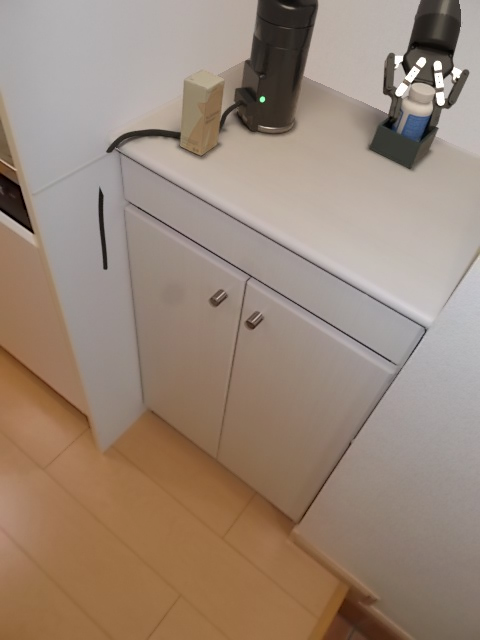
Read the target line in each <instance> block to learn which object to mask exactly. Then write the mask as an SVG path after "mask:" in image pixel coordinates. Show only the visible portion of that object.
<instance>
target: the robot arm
mask: <svg viewBox="0 0 480 640" xmlns="http://www.w3.org/2000/svg"><path fill="white" fill-rule="evenodd" d="M419 3H420V4H419ZM419 3H418V7H417V10H416V13H415V16H414V18H413V19H414V21H413V25H412V29H411V33H410V34H411V35H410V37H409V42H408V45H407V49H406V52H405V53H404V54H403V55H396V54H395V53H394V52H389V53H388V55H387V57H386V58H385V60H384V64H383V65H384V67H383V81H382V94H383V95H384V96H388V97H389V98H390V99H391V102H390V106H389V109H388V113H387V118H388V119H391V121H390V123H393V124H395V122H396V121H397V118H398V114H399V111H400V107H401V103H402V99H403V98H404V97H403V94H404V93H405V92H406V91H407V89H408V88H409V86H411V85H412V84H414V83H424V84H427V85H430V86H431V87H433V88H434V89H435V94H434V97H433V99H432V101H431V103H432V105H433V111H432V114H431V116H430V118H429V121H428V123H427V126H426V129H425V131H428V132H430V131H431V130H432V129H434V128H435V127H438V124H439V122H440V117H441V114H442V110H444V109H445V110H449V109H451V108H452V107H453V106H454V105H455V104H456V103H457V101H458V99H459V97H460V94H461V93H462V90H463V88H464V86H465V84H466V82H467V80H468V78H469V75H470V70H469V69H467V68H465V69H463V70H462V69H459V68H457V67H455V64H454V55H455V51H456V48H457V45H458V41H459V37H460V33H461V30H460V27H461V28H462V26H461V9H460V4H459V0H419ZM318 12H319V0H257V4H256V14H255V20H254V27H253V34H252V40H251V50H250V55H249V59H246V60H244V63H243V72H242V78H241V86H240V87H236V88H234V96H233V102H234V103H233V104H231V105H230V106H229V107H227V108H226V109H225V110H224V111H223V113H222V114H221V117H220V126H219V130H221V129H222V128H223V127H224V126H225V123H226V121H227V117H228V116H229V115H230V114H231V113H232V112H233V111H234V110H236V109H238V110H237V114H238V116H239V117H240V119H242V121H243V122H244V124H245V125H246V126H247V128H249V130H250V131H251V132H256V131H257V132H262V133H265V134H266V133H267V134H281V133H286V132H288V131H290V130H291V129H292V128H293V126H294V124H295V117H296V112H297V106H298V101H299V97H300V93H301V90H302V89H301V88H302V85H303V78H304V75H305V71H306V65H307V61H308V57H309V52H310V47H311V43H312V39H313V34H314V30H315V26H316V21H317V16H318ZM399 65H401V67H402V69H403V72H404V74H405V78H404V79H403V80H402V82H401V83H400V85H399V86H398V87H396V86H395V85H394V79H395V71H396V70H397V69H398V68H399ZM449 75H450V76H451V80H450V82H451V84H453V85H452V87H451V89H450V91H449V93H448V95H447V97H446V98H445V95H444V91H445V84H444V80H445V79H446V78H447V77H448V76H449ZM149 135H160V136H167V137H172V138H180V139H181V131H172V130H169V129H168V130H167V129H160V128H148V129H140V130H139V129H138V130H132V131H128V132H125V133H123V134H121V135H119V136H118V137H117V138H116V139H115V140H113V142H112V143H111V144H110V145H109V146H108V148H107V149H106V150H105V153H107V154H111V153H113V151H114V150H115V149H116V148H117V147H118V146H119V145H120V144H121V143H122V142H124V141H125V140H127V139H130V138H135V137H141V136H149ZM104 198H105V195H104V193H103V191H102V189H101V186H99V187H98V201H97V203H98V204H97V209H98V212H97V213H98V214H97V215H98V227H99V228H98V229H99V237H100V245H101V255H102V256H101V257H102V270H103V271H107V270H108V269H109V268H108V267H109V266H108V251H107V241H106V232H105V230H106V229H105V220H104V219H105V218H104V217H105V215H104V200H105V199H104Z"/></svg>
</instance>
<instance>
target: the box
mask: <svg viewBox="0 0 480 640" xmlns="http://www.w3.org/2000/svg"><path fill="white" fill-rule="evenodd" d="M225 81H226V80H225V78H223V77H222V76H219V75H217V74H214V73H213V72H210V71H208V70H205V69H200V70H199V71H196V72H195V73H192V74H191V75H189V76H187V77H186V78H184V79H183V87H182V89H183V90H182V107H181V124H180V125H181V126H180V132H181V138H180V140H179V141H180V142H179V146H180V147H181V148H183V149H186V151H189V152H190V153H194V154H196V155H198V156H203V155H205V154H206V153H208V152H210V150H212V149H213V148H215V147H216V146H218V142H219V135H220V129H219V126H220V120H221V117H222V108H223V98H224V89H225Z"/></svg>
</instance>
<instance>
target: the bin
mask: <svg viewBox="0 0 480 640" xmlns="http://www.w3.org/2000/svg"><path fill="white" fill-rule="evenodd" d="M390 121H391V119H388V117H386V118H385V119H384V120H383V121H382V122H380V123H379V124H377V127H376V129H375V133H374V135H373V138H372V141H371V144H370V146H369V150H371V151H373V152H374V153H376V154H379V155H380V156H383V157H385V158H387V159H389V160H391V161H393V162H395V163H398V164H399V165H402V166H404V167H406V168H408V169H412V168H413V167H414V166H415V165H416V164H417V163H419V161H420V160H421V159H422V158H423V157H424V156H425V155H426V154H427V153H428V152H429V151H430V148H431V146H432V145H433V142H434V140H435V138H436V135H437V133H438V131H439V129H440V128H439V127H438V126H436V127H435V128H434V129H432V130H431V131H430V132H428V131H425V130H424V133H423V135H422V138H421V140H420V142H416V141H414V140H412V139H410V138H408V137H406V136H404V135H402V134H399V133H397V132H395V131H393V130H391V128H392V125H393V123H390ZM425 129H426V128H425Z"/></svg>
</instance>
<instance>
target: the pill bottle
mask: <svg viewBox="0 0 480 640" xmlns="http://www.w3.org/2000/svg"><path fill="white" fill-rule="evenodd" d="M434 94H435V89H434V88H433V87H431V86H430V85H427V84H424V83H414V84H412V85H411V84H410V87H409V90H408V95H406V96H404V97H402V98H403V99H402V103H401V107H400V111H399V114H398V118H397V121H396V122H395V124H393V125H392V128H391V130H393V131H395V132H397V133H399V134H402V135H404V136H406V137H408V138H410V139H412V140H414V141H416V142H420V140H421V138H422V135H423V133H424V130H425V128H426V126H427V123H428V121H429V118H430V116H431V114H432V111H433V105H432V99H433V97H434Z"/></svg>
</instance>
